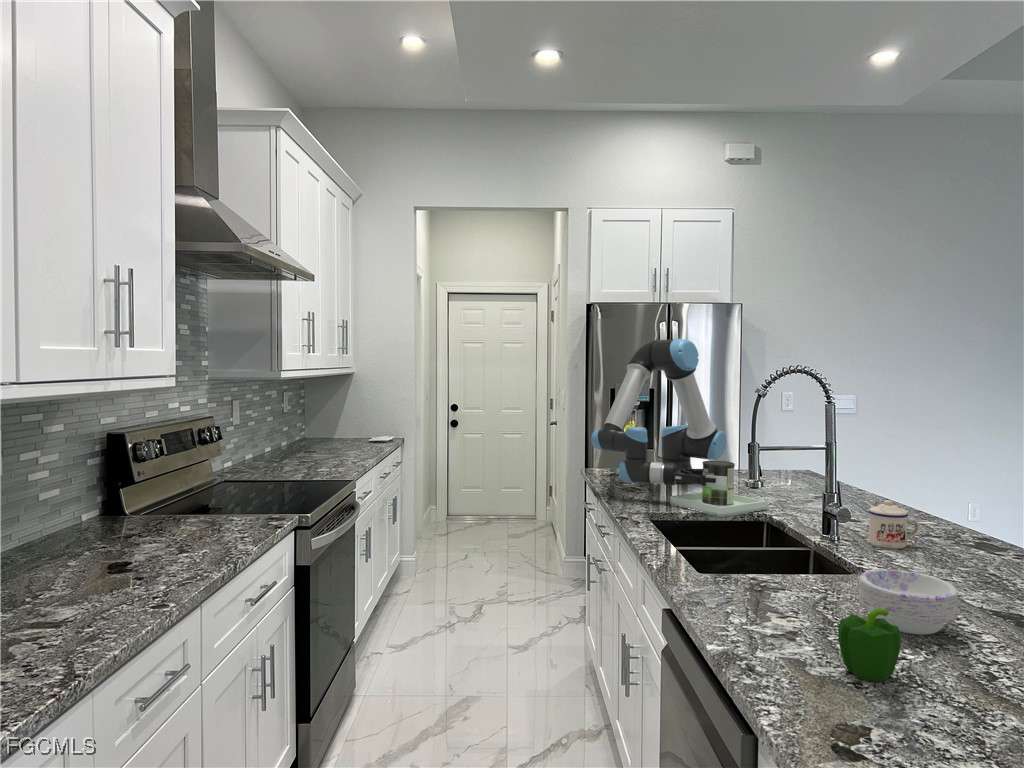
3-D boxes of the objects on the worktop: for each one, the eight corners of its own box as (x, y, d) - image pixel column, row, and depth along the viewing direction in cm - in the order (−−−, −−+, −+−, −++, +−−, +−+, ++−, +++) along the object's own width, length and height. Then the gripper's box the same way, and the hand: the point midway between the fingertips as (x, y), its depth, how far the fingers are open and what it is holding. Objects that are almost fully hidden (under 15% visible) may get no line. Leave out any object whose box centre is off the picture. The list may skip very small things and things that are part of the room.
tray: (715, 498, 233) (715, 490, 233) (767, 510, 214) (767, 501, 214) (670, 504, 222) (670, 496, 222) (720, 517, 203) (720, 508, 203)
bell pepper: (840, 682, 95) (842, 614, 95) (834, 659, 103) (835, 596, 103) (906, 692, 92) (908, 622, 92) (895, 668, 100) (896, 603, 100)
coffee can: (713, 508, 211) (714, 465, 211) (695, 502, 221) (696, 460, 221) (740, 506, 214) (741, 464, 214) (721, 500, 224) (722, 459, 224)
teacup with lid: (874, 548, 168) (875, 503, 168) (863, 539, 177) (863, 496, 177) (925, 551, 166) (926, 505, 166) (911, 542, 175) (912, 498, 174)
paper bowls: (919, 648, 107) (920, 600, 107) (840, 616, 121) (840, 574, 121) (977, 634, 113) (978, 588, 113) (895, 605, 127) (896, 564, 127)
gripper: (670, 479, 236) (732, 483, 228) (656, 490, 214) (724, 495, 205) (670, 458, 236) (732, 462, 227) (657, 467, 213) (725, 471, 205)
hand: (728, 477), depth 216 cm, fingers open, 13 cm apart
